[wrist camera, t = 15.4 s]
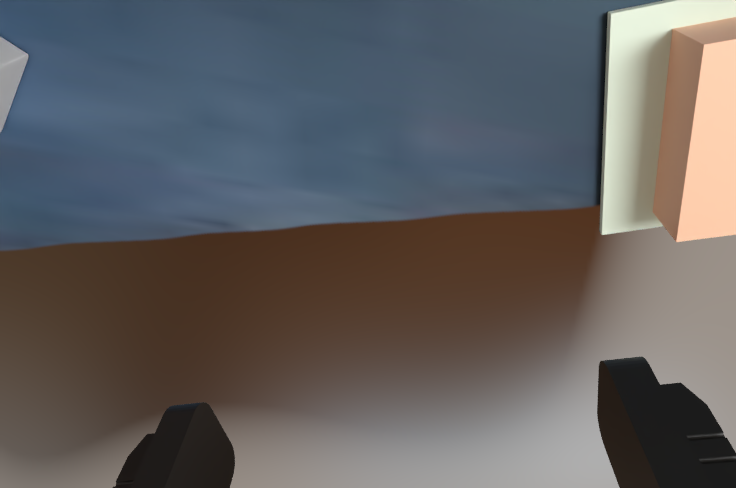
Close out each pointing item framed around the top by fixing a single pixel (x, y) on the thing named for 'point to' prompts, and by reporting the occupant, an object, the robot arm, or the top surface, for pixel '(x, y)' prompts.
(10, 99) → the milk carton
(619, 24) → the mat
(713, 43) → the peach rectangular slab
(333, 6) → the top surface
